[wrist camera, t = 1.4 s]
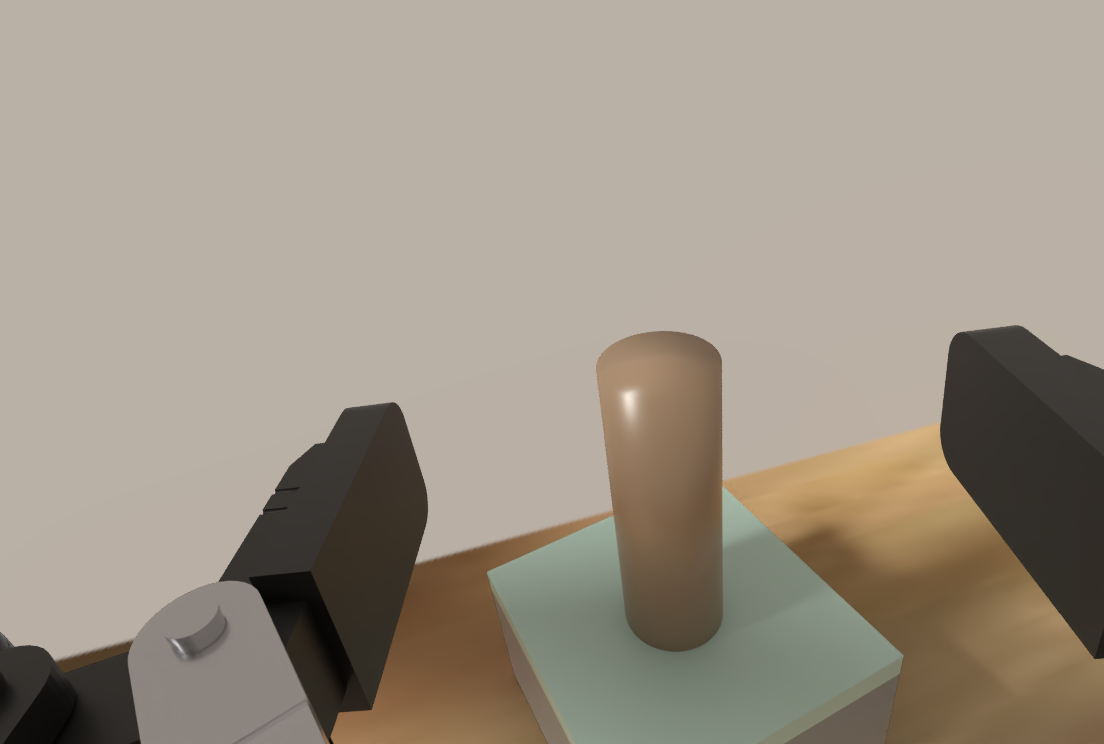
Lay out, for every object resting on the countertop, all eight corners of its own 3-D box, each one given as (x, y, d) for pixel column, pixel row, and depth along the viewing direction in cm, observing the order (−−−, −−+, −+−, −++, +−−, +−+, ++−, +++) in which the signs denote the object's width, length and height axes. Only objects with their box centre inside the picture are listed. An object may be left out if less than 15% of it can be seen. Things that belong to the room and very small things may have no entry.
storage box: (635, 924, 24) (620, 842, 21) (514, 673, 33) (490, 588, 30) (879, 766, 27) (899, 673, 24) (710, 575, 36) (708, 488, 33)
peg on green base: (623, 857, 21) (573, 566, 14) (495, 603, 30) (425, 344, 23) (896, 691, 25) (963, 385, 18) (709, 504, 33) (704, 251, 26)
